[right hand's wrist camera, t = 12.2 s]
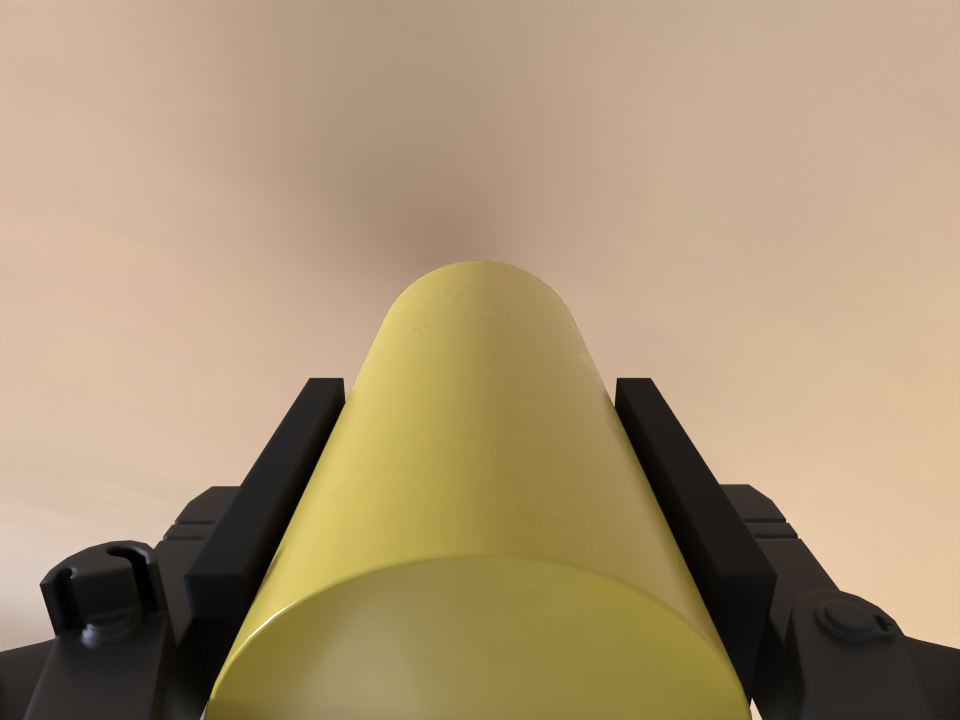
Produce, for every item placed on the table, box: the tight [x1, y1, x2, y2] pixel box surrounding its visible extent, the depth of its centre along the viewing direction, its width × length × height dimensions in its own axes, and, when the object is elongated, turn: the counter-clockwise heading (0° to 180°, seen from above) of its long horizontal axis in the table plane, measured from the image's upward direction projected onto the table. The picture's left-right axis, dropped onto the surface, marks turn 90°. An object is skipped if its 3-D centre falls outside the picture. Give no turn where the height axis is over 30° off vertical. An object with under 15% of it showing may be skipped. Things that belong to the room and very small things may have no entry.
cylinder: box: [204, 261, 752, 720], centre depth 13 cm, size 6×6×13 cm
